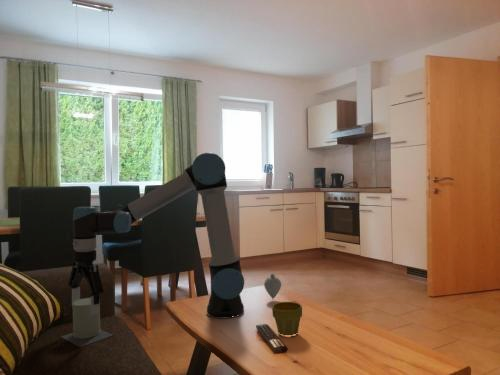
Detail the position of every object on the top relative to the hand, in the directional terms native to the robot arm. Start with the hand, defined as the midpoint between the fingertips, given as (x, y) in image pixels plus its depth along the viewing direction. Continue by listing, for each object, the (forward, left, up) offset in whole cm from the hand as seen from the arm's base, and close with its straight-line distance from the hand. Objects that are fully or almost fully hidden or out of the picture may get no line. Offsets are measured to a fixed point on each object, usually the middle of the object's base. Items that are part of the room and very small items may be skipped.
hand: (85, 309), depth 134 cm
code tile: (-2, +1, -9) cm, 9 cm away
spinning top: (-32, -70, -9) cm, 78 cm away
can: (0, 0, -9) cm, 9 cm away
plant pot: (-58, -42, -9) cm, 72 cm away
